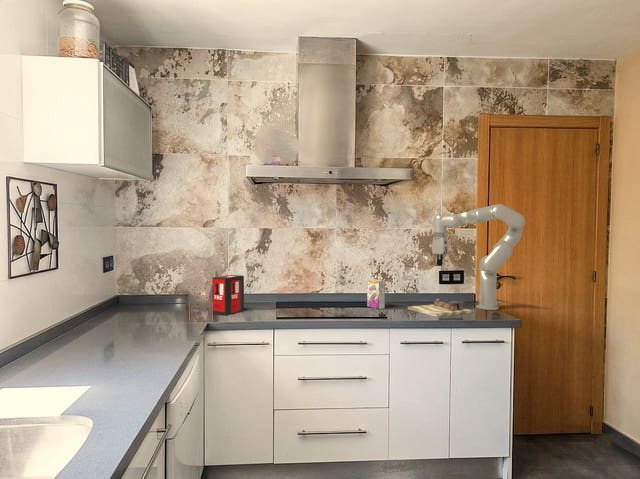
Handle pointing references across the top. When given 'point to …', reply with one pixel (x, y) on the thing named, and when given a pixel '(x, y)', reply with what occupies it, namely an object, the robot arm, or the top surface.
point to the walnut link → (445, 305)
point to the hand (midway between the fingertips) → (439, 265)
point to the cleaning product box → (228, 294)
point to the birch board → (437, 310)
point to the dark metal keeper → (457, 304)
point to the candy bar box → (376, 294)
